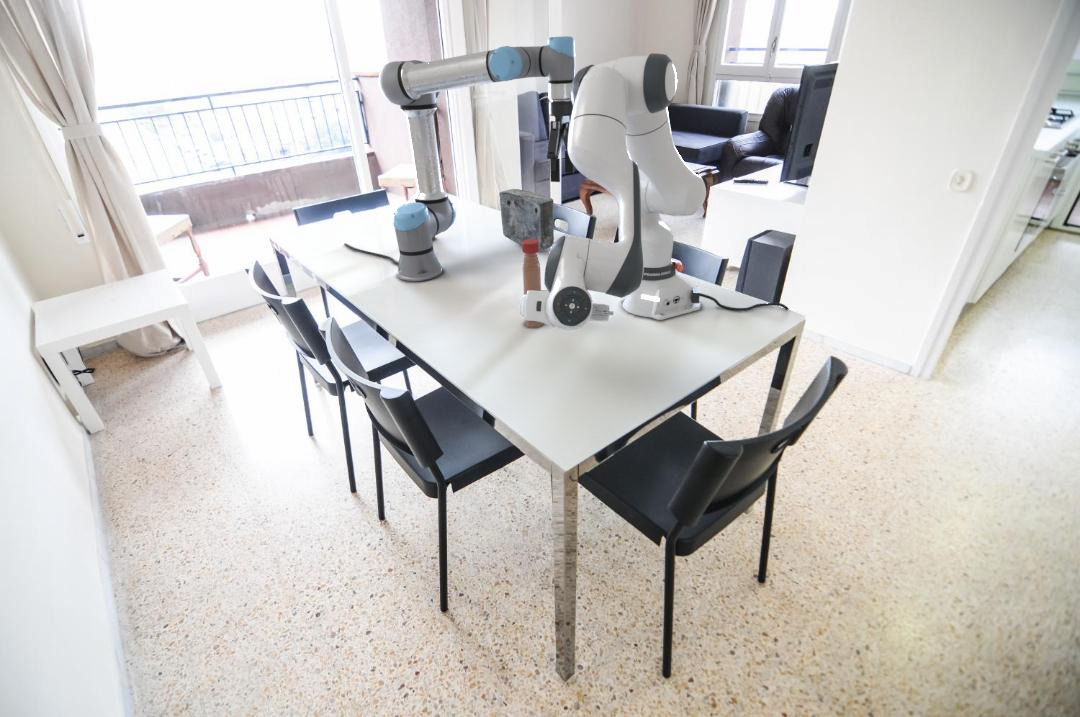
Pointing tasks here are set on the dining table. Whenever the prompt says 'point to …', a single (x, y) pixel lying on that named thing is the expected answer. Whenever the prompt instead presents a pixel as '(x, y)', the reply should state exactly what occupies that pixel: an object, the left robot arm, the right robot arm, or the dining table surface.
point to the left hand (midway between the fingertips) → (562, 177)
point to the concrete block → (527, 217)
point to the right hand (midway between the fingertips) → (562, 310)
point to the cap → (530, 246)
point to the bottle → (531, 279)
